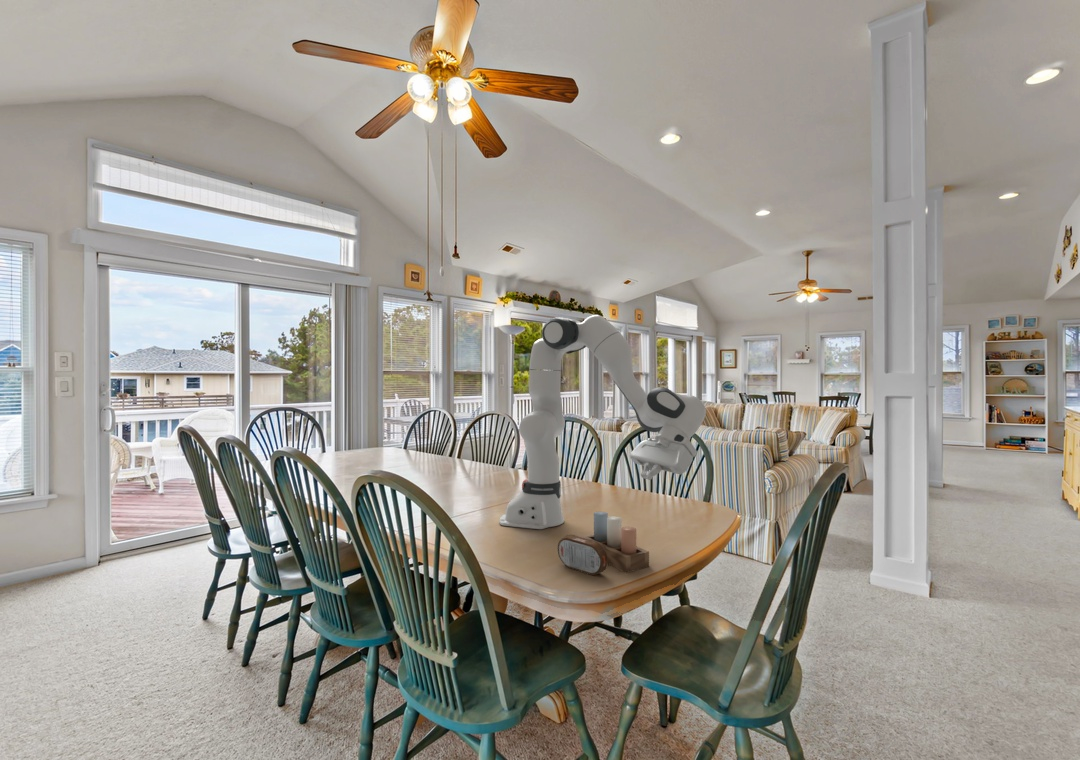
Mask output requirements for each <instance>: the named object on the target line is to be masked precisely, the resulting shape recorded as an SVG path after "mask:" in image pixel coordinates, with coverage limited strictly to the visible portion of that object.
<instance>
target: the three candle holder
mask: <svg viewBox="0 0 1080 760" xmlns="http://www.w3.org/2000/svg"><path fill="white" fill-rule="evenodd" d="M581 537H582V536H581ZM582 538H586V539H589V540H593V541H595V540H594V534H592V535H587V536H583V537H582ZM596 542H598V541H596ZM598 543H599V544H601V545H602V546H603V548H604V549H605V551H606V553H607V556H608V565H609V564H610V566H611V565H612V566H611V567H613V566H614V567H613V568H615V567H616V569H617V568H618V570H619V569H620V570H619V571H621V570H622V571H621V572H623V571H624V573H625V572H626V574H627V573H630V572H634V571H638V570H642V569H645V568H649V567H650V552H649V551H648V550H646V549H644V548H642V547H639V546H637V545H636V553H635V554H631V555H627V554H624V553H622V552H621V547H617V548H611V547H609V546H607V541H603V542H598Z"/></svg>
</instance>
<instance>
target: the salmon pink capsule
mask: <svg viewBox="0 0 1080 760" xmlns="http://www.w3.org/2000/svg"><path fill="white" fill-rule="evenodd" d="M636 546H637V528H636V527H632V526H624V527H623V526H622V528H621V552H622V553H624V554H627V555H631V554H635V553H636Z"/></svg>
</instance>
